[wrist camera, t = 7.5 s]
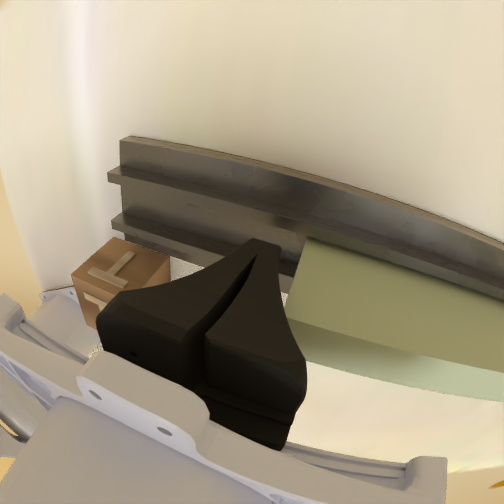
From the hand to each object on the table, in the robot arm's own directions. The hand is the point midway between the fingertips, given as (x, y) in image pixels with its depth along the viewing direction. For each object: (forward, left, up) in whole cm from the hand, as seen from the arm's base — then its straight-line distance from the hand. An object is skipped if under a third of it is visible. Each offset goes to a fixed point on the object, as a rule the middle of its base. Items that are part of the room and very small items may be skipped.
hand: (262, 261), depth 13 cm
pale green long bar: (+7, -5, -3) cm, 9 cm away
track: (+2, -2, -4) cm, 5 cm away
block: (-12, -2, -4) cm, 13 cm away
